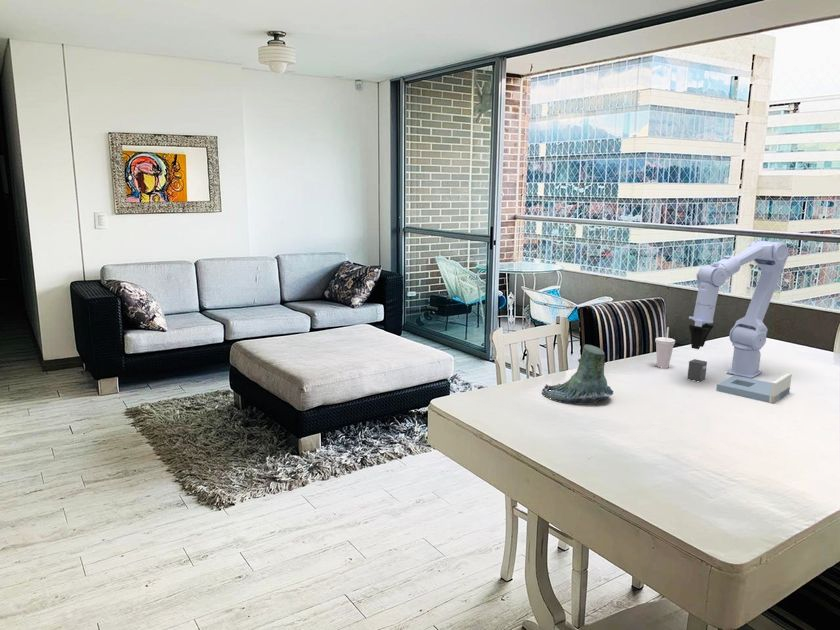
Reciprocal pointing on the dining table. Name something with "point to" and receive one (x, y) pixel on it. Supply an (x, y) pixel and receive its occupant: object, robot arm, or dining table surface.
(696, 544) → the dining table surface
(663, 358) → the smoothie
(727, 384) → the outlet plate
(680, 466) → the dining table surface
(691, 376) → the plug
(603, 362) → the tree stump
